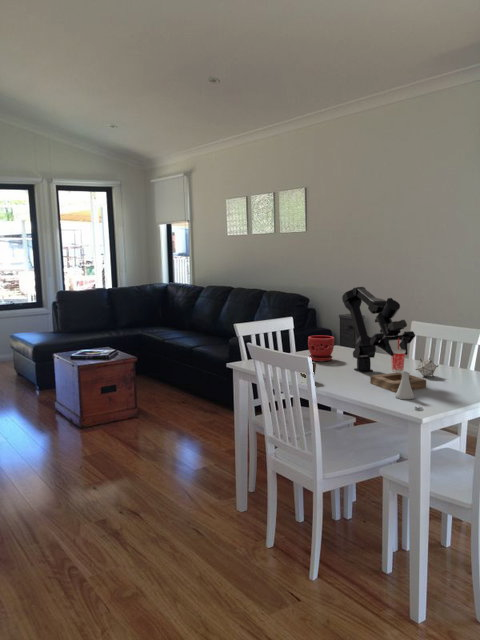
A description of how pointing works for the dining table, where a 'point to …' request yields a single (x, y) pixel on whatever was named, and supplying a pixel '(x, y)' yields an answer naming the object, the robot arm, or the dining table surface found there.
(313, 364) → the cup
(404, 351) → the beverage cup
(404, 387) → the flask
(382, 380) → the base board
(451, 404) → the dining table surface
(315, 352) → the plant pot
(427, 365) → the spiky beige ball
